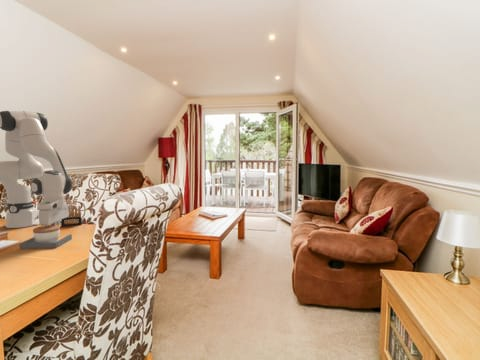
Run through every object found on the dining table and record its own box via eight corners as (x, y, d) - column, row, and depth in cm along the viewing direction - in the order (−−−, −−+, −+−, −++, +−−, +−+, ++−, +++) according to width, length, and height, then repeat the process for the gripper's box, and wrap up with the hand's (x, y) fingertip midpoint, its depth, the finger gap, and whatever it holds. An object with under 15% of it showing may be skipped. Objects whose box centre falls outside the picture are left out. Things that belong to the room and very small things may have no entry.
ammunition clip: (61, 226, 165) (60, 206, 164) (61, 226, 167) (60, 206, 166) (81, 224, 170) (80, 205, 169) (82, 224, 171) (81, 205, 170)
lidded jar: (31, 248, 127) (29, 228, 126) (36, 241, 136) (35, 223, 136) (59, 245, 131) (57, 225, 130) (62, 239, 141) (61, 221, 140)
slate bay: (38, 239, 140) (38, 234, 140) (71, 238, 141) (71, 234, 141) (19, 248, 126) (19, 243, 126) (56, 247, 128) (56, 242, 128)
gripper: (59, 199, 150) (60, 224, 151) (35, 206, 129) (36, 235, 131) (71, 199, 150) (72, 224, 151) (49, 206, 130) (51, 235, 131)
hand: (56, 229), depth 141 cm, fingers closed
